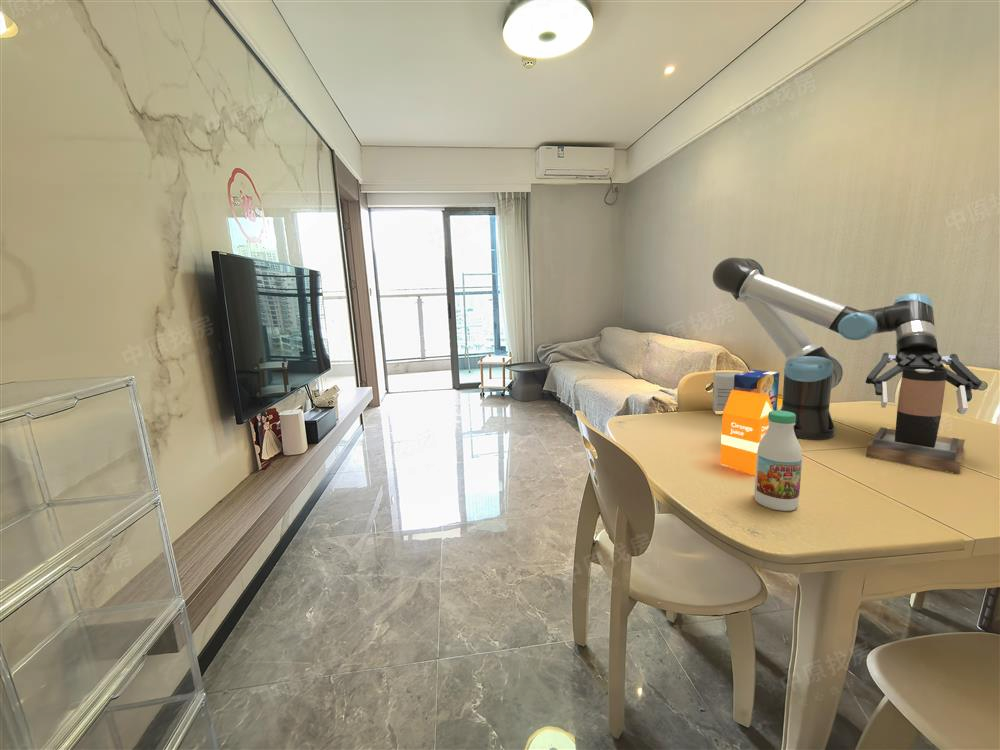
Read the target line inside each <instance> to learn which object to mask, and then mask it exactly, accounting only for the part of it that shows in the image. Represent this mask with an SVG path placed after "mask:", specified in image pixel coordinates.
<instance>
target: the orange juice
mask: <svg viewBox="0 0 1000 750" xmlns="http://www.w3.org/2000/svg"><path fill="white" fill-rule="evenodd" d="M770 411H773V408H772V405H771V402H770V399H769V396H768V395H766V394H760V393H753V392H746V391H739V390H732V391H731V394H730V396H729V399H728V401H727V404H726V406H725V409H724V412H723V415H722V419H721V422H722V423H721V436H720V437H721V438H720V439H721V440H720V463H722V464H725V465H728V466H730V467H733V468H735V469H738V470H741V471H743V472H742V473H744V472H746V473H745V474H747V473H749V474H748V475H751V476H754V475H755V474H756V460H757V450H758V446H759V443H760V441H761V439H762V438H763V436H764V435H765V433H766V431H767V429H768V427H769V422H768V413H769V412H770ZM720 463H719V464H720ZM738 470H737V471H738ZM741 471H740V472H741Z"/></svg>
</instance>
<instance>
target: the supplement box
mask: <svg viewBox="0 0 1000 750" xmlns="http://www.w3.org/2000/svg"><path fill="white" fill-rule="evenodd" d="M740 373H741V372H727V371H726V372H725V371H724V372H723V371H722V372H721V371H717V372H716V371H714V372H713V384H712V385H713V388H712V410H713V412H714V411H723V412H724V409H725V406H726V404H727V401H728V399H729V396H730V394H731V391H732V390H734V375H736V374H740Z"/></svg>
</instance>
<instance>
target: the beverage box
mask: <svg viewBox="0 0 1000 750" xmlns="http://www.w3.org/2000/svg"><path fill="white" fill-rule="evenodd" d="M739 373H740V374H736V375H734V390H739V391H746V392H753V393H760V394H766V395H768V396H769V399H770V402H771V405H772V408H773V411H775V410H778V399H779V383H780V371H779V372H778V371H772V370H759V369H751V370H748V371H744V372H739Z"/></svg>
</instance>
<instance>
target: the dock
mask: <svg viewBox="0 0 1000 750" xmlns="http://www.w3.org/2000/svg"><path fill="white" fill-rule="evenodd" d="M895 431H896V429H893V428H887V427H880V426H879V429H878V430H877V431H876V433H875V434H874V435H873V437H872V438H871V440H870V441H869V443H868V444H867V446H866V454H865V456H866V457H869V458H874V459H880V460H884V461H891V462H895V463H900V464H905V465H909V464H910V465H911V466H915V465H917V466H916V467H920V466H923V467H922V468H925V467H927V468H926V469H930V468H932V469H931V470H935V469H937V471H940V470H942V472H946V471H948V472H947V473H951V472H953V473H952V474H956V473H958V474H957V475H960V470H961V464H962V459H963V452H964V447H965V446H964V445H965V440H966V439H962V438H961V439H959V438H956V437H947V436H942V435H941V436H940V435H937V439H936V443H935V447H934V448H931V447H925V446H919V445H913V444H907V443H901V442H895Z"/></svg>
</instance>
